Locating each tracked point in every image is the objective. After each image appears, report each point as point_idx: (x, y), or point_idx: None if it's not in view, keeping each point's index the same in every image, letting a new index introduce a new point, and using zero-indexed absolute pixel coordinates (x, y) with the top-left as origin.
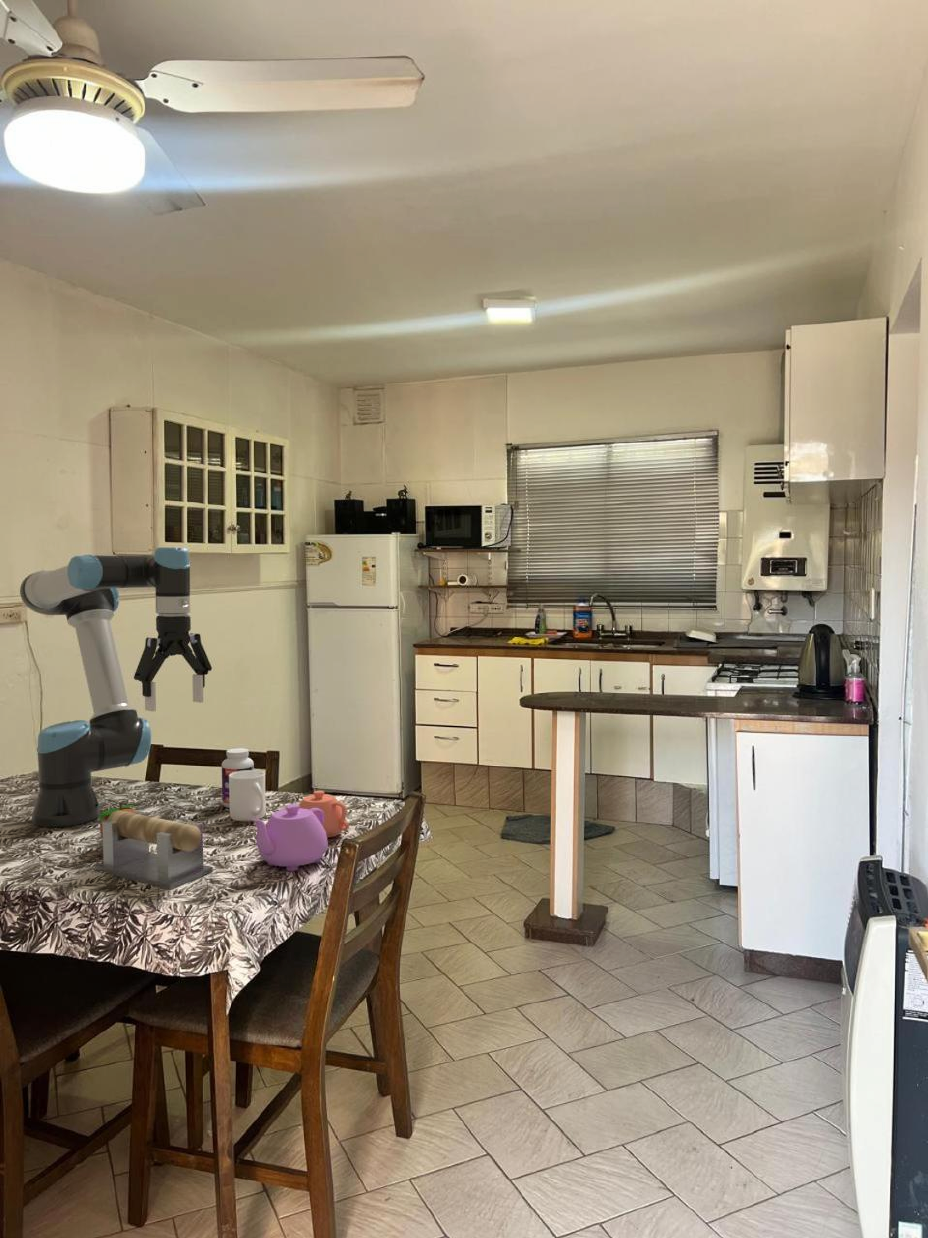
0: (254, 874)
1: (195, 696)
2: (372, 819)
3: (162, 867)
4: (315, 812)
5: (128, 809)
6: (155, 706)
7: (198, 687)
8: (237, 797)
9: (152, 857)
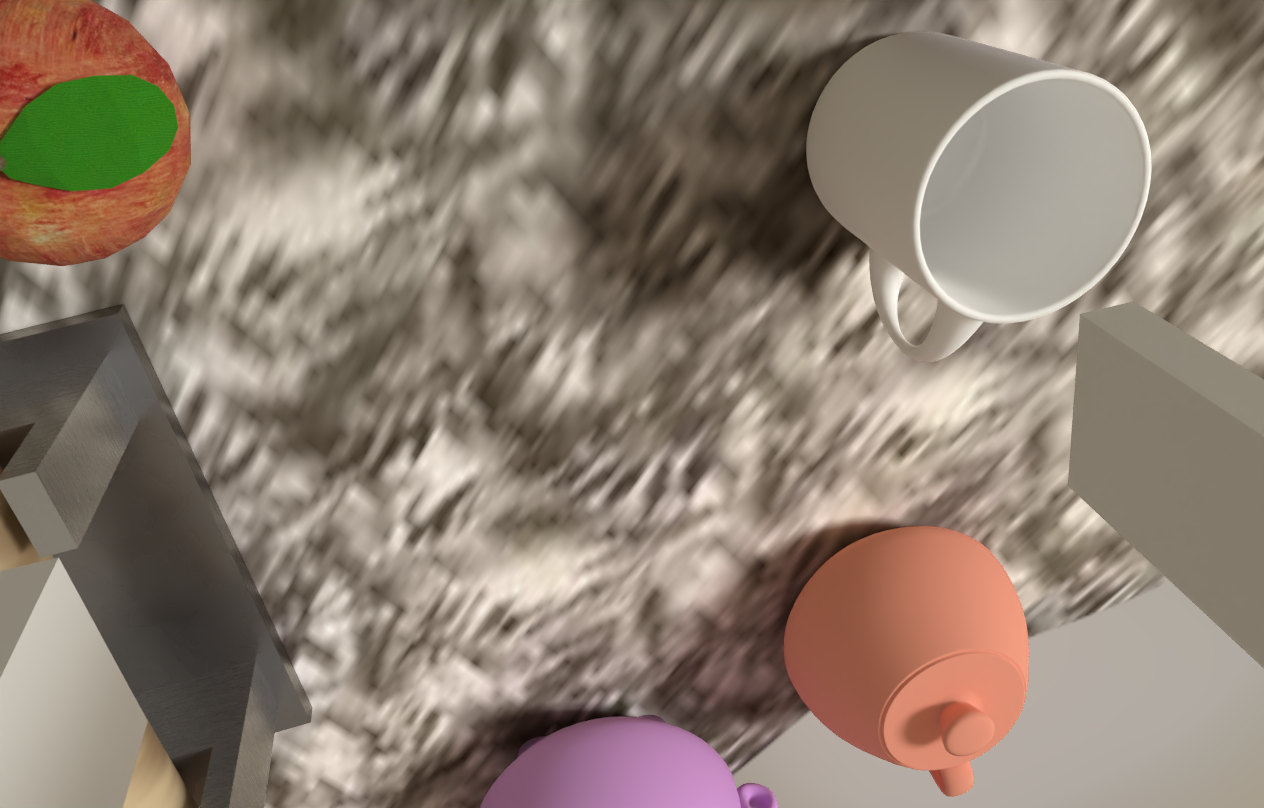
0: (422, 802)
1: (1136, 428)
2: (1144, 571)
3: None
4: (857, 745)
5: (54, 206)
6: (120, 789)
7: (1259, 609)
8: (859, 219)
9: (137, 471)
